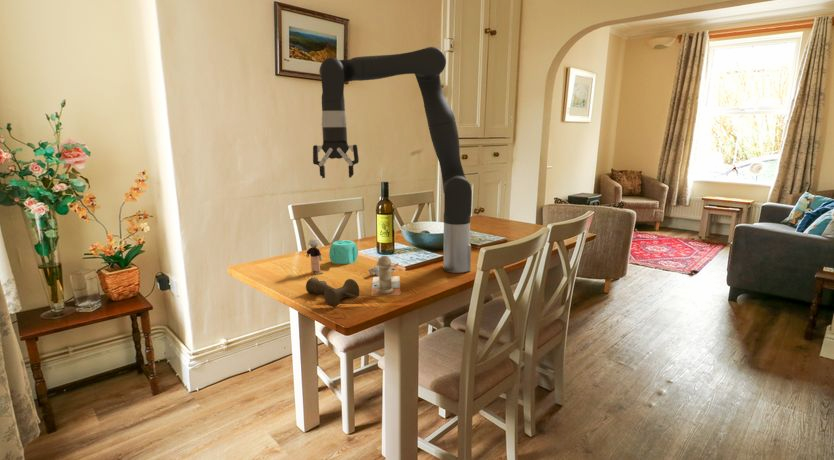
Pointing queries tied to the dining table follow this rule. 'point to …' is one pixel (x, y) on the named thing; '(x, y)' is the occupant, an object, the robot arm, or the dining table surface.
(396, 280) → the board
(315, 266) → the grandmother figurine
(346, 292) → the kendama
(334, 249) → the decorative dice
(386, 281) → the pawn
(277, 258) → the dining table surface
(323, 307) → the dining table surface
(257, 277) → the dining table surface
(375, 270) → the soldier figure
